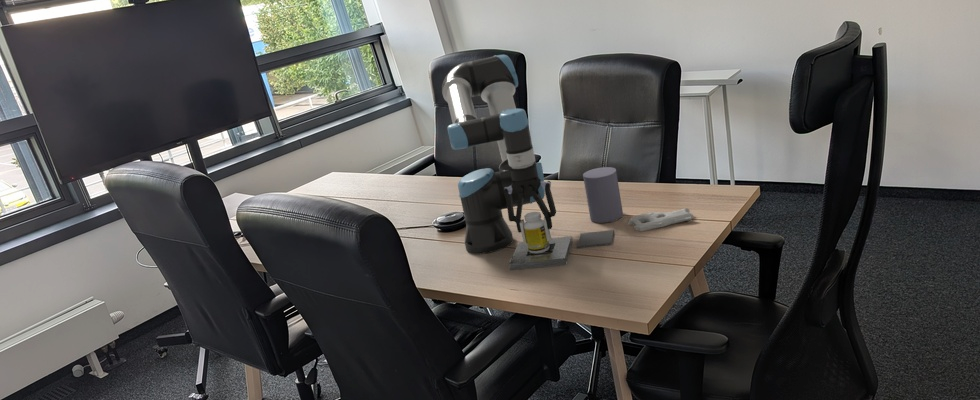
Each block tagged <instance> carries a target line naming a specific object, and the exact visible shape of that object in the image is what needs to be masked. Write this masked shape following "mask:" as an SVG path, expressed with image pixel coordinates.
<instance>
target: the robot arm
mask: <svg viewBox="0 0 980 400" xmlns="http://www.w3.org/2000/svg"><path fill="white" fill-rule="evenodd" d="M518 87H519V80H518V75H517V72H516V69H515V66H514V63H513V61H512V59H511V58H510V57H509V56H508V55H507V54H497V55H496V54H494V55H493V56H490V57H484V58H480V59H475V60H470V61H465V62H462V63H459V64H457V65H455V66H454V67H453V68H452V69H450V70H449V72H448V73H447V74H446V75H445V77H444V79H443V81H442V85H441V93H442V96H443V99H444V101H445V102H446V103H447V104H448V109H449V114H450V118H451V122H452V124H449V125H448V126H447V133H448V138H449V143H450V147H451V149H452V150H457V151H458V150H462V149H464V150H466V149H468V148H472V147H477V146H480V145H485V144H490V143H495V142H497V143H496V144H497V146H498V150H499V153H500V158H501V163H500V164H499V167H498V170H499V171H494V170H493V169H492V168H489V167H486V168H481V169H477V170H476V169H475V170H473V171H471V172H469V173H468V174H466V175H464V176H462V177H461V178H460V179H459V181H458V182H457V188H458V196H459V198H460V202H461V205H462V206H461V207H462V212H463V215H464V221H465V225H466V227H465V236H464V246H465V250H466V252H468V253H471V254H477V255H480V254H489V253H493V252H497V251H500V250H503V249H505V248H507V247H508V246H510V245H511V244H512V243H513V241H514V236H513V232H512V230H511V229H510V227H509V225H508V224H507V222H506V220H505V218H504V216H503V211H502V210H505V209H507V217H508V220H509V221H508V222H515V224H516V228H517V232H518V233H519V234H520V233H521V237H522V242H524V244H526V243H527V241H526V236H525V231H524V224H525V218H522V212H523V206H524V205H529V204H533V203H536V204H537V205H538V207H539V209H540V212H541V214H542V215H543V216H544V217H543V218H542V220H543V222H544V227H545V233H546V238H547V241H550V239H551V238H552V236H551V230H552V228H553V222H552V218H553V217H555V216H556V214H557V209H556V206H555V201H554V198H553V193H552V190H551V185H552V182H551V181H550V180H547V181H545V177H544V170H543V169H544V168H543V166H542V165H543V164H542V163H541V162H540V161H539V162H536V156H535V153H534V147H533V143H532V142H533V141H532V137H531V131H530V126H529V119H528V116H527V113H526V110H525V109H524V108H517V107H516V104H515V103H516V102H515V100H514V95H515V93H516V88H518ZM473 97H474V98H475V97H480V98H481V100H482V101H483V102H485V103H487V107H488V110H489V115H488V116H482V117H480V118H479V117H478V116H477V113H476V111H475V107H474V102H473V100H472V98H473ZM544 198H546V201H547V205H546V203H545V201H544V200H543V199H544ZM547 206H548V207H547ZM515 207H516V212H515V211H514V210H515V209H514V208H515Z"/></svg>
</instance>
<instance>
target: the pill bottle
mask: <svg viewBox="0 0 980 400" xmlns="http://www.w3.org/2000/svg"><path fill="white" fill-rule="evenodd" d="M524 223H525V224H524V231H525V236H526V241H527V246H528V250H529V252H530V253H531V254H536V255H537V254H543V253H545V252H546V251H549V250H548V249H549V242H548V241H547V238H546V233H545V227H544V222H543V218H542V213H541V211H531V212H527V213H526V214H525V215H524Z"/></svg>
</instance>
